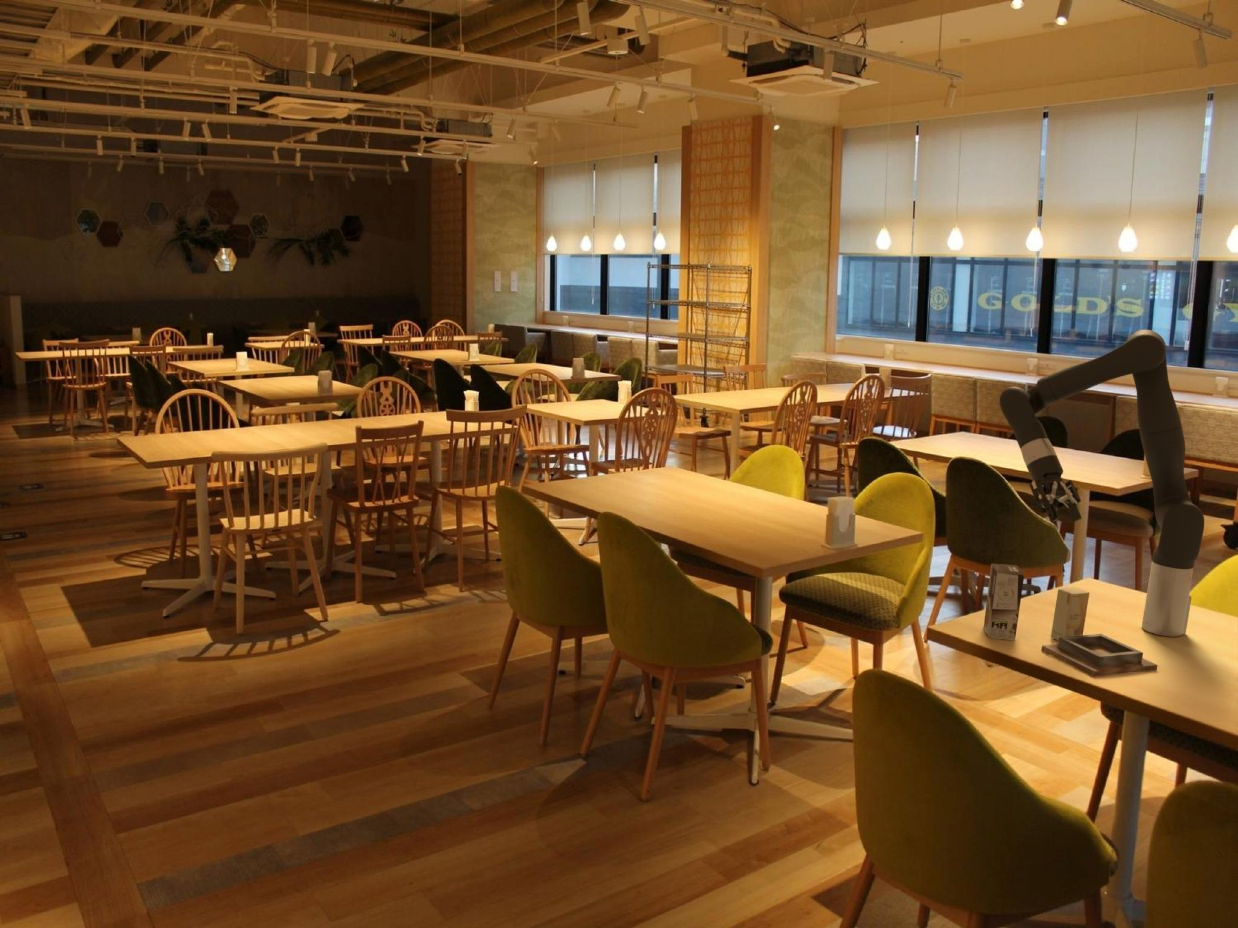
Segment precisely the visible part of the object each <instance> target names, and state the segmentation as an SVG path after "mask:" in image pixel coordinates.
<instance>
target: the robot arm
mask: <svg viewBox="0 0 1238 928" xmlns="http://www.w3.org/2000/svg"><path fill="white" fill-rule="evenodd" d="M1128 375H1132V377H1133V382H1134V385H1135V390H1136V406H1137V407H1136V410H1137V414H1136V415H1137V423H1138V430H1139V435H1140V440H1141V445H1142V449H1143V453H1144V457H1145V460H1146V465H1147V469H1148V471H1149V474H1150V478H1151V483H1152V484H1151V485H1152V490H1153V498H1154V499H1153V500H1154V501H1153V502H1154V513H1155V520H1156V522H1157V524H1158V526H1159V528H1161V531H1160V537H1159V541H1158V545H1157V547H1156V548H1155V549H1154V550H1153V553H1152V559H1151V564H1150V572H1149V579H1148V584H1147V591H1146V597H1145V604H1144V609H1143V615H1142V616H1143V617H1142V620H1141V621H1142V623H1141V628H1142V629H1143V630H1144V631H1146V632H1148V633H1151V634H1155V635H1158V636H1163V637H1172V638H1173V637H1175V638H1176V637H1181V636H1183V635H1184V634H1186V633H1187V628H1188V621H1189V617H1190V616H1189V615H1190V611H1191V606H1192V605H1191V602H1192V596H1191V595H1190V593H1191V586H1192V580H1193V573H1194V567H1195V562H1196V560H1197V559H1198V557H1199V554H1200V549H1201V545H1202V541H1203V536H1204V530H1205V516H1204V513H1203V512H1202V510H1201V509H1200V508H1199V507H1198V506H1197V505H1196V504H1194V503H1193V502H1192V500H1191V497H1190V495H1189V491H1188V490H1189V489H1188V488H1187V483H1186V479H1185V461H1186V441H1185V436H1184V435H1185V434H1184V431H1183V426H1182V422H1181V418H1180V415H1179V411H1178V407H1177V404H1176V401H1175V398H1174V394H1173V392H1172V389H1171V385H1170V380H1169V374H1168V366H1167V344H1166V341H1165V340H1164V338H1163V336H1161V335H1160V334H1159V333H1158V332H1156V331H1154V330H1150V329H1141V330H1140V329H1139V330H1137V331H1135V332H1134V333H1132V334H1131V335H1130V336H1129V337H1127V339H1126V340H1125V342H1124V343H1123V344H1120V345H1119V346H1117V347H1116V348H1113V350H1111V351H1109V352H1107V353H1105V354H1102V355H1101V356H1097V357H1095V358H1093V359H1090V360H1086V361H1083V362H1080V363H1077V364H1073V365H1070V366H1068V367H1064V368H1062V369H1059V370H1058V371H1055V372H1052V373H1050V374H1048V375H1045V376H1043V377H1041V378H1039V379H1038V380H1037V382H1036V385H1033V386H1031V387H1030V388H1027V389H1026V390H1025V389H1023V388H1022V387H1019V386H1010V387H1007V388H1005V389H1004V390H1003V391H1002V392H1001V394H1000V395H999V398H998V399H999V401H998V402H999V408H1000V409H1001V413H1002V414H1003V415H1004V418H1005V420H1006V421H1007V423H1008V425H1009V426H1010V428H1011V429H1012V431H1013V434H1014V437H1015V439H1016V442H1017V444H1018V447H1019V449H1020V452H1021V455H1022V459H1023V461H1024V464H1025V466H1026V468H1027V471H1028V474H1029V477H1030V479H1031V481H1032V482H1030V483H1029V487H1030V490H1031V493H1032V495H1033V496H1032V497H1033V498H1034V501H1035V503H1036V506H1041V507H1042V508H1044V509H1045V511H1046V515H1047V517H1048V518H1049V521H1050V522H1052V523H1053V522H1054V523H1055V522H1056V521H1058V520H1059V519H1060V515H1059V513H1058V510H1057V508H1056V505H1055V504H1054V500H1057V501H1058V502H1059V503H1062V504H1063V505H1064V506H1065V507H1066V508H1067V512H1068V514H1069V516H1070V518H1071V521H1072V522H1074V523H1075V522H1078V521H1080V520H1082V515H1081V513H1080V510H1079V508H1078V506H1077V505H1078V504H1079V503H1081V502H1082V500H1081V497H1080V495H1079V493H1078V491H1077V489H1076V487H1075V484H1074V482H1073V481H1072V480H1070V479H1069V480H1067V481H1064V480H1063V478H1062V475H1063V473H1064V470H1063V467H1062V465H1061V462H1060V459H1059V458H1058V455H1057V452H1056V451H1055V448H1054V445H1052V443H1051V441H1050V439H1049V437H1048V435H1047V433H1046V430H1045V427H1044V426H1043V424H1042V422H1041V421H1040V420H1039V419H1038V418H1037V417H1036V414H1037V413H1039V412H1041V411H1043V410H1044V409H1046V408H1048V407H1049V406H1050V405H1052V404H1055V403H1059V402H1060V401H1063V400H1065V399H1068V398H1070V397H1073V396H1075V395H1078V394H1080V393H1082V392H1084V391H1087V390H1088V389H1091V388H1093V387H1095V386H1098V385H1100V384H1103V383H1106V382H1109V381H1112V380H1115V379H1117V378H1121V377H1125V376H1128ZM1073 496H1074V497H1073Z"/></svg>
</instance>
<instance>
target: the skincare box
mask: <svg viewBox="0 0 1238 928" xmlns="http://www.w3.org/2000/svg"><path fill="white" fill-rule="evenodd" d="M1089 599H1090V591H1086V590H1083V589H1081V588H1079V587H1075V586H1074V587H1065V588H1058V590H1057V595H1056V602H1055V609H1054V613H1053V620H1052V626H1051V633H1050V638H1051V639H1054V640H1056V641H1058V640H1059V637H1069V636H1081V635H1084V629H1085V623H1086V617H1087V609H1088V605H1089Z"/></svg>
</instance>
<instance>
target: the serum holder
mask: <svg viewBox="0 0 1238 928" xmlns="http://www.w3.org/2000/svg"><path fill="white" fill-rule="evenodd" d="M1041 651H1042V652H1043V653H1046V654H1048V655H1050V656H1052V657H1054V658H1056V659H1058V660H1060V661H1062V662H1064V663H1066V664H1067V665H1070V666H1072V667H1074V668H1075V669H1077V670H1080V671H1082V672H1084V673H1086V674H1088V675H1089V676H1091V677H1094V678H1095V677H1104V676H1114V675H1121V674H1131V673H1132V674H1134V673H1141V672H1152V671H1157V670H1158V666H1159V664H1156V663H1154V662H1152V661H1150V660H1148V659H1145V658H1143V655H1144V652H1142V651H1141V650H1138V649H1136V648H1134V647H1131V646H1129V645H1127V644H1125V643H1123V642H1120V641H1118V640H1116V639H1113V638H1112V637H1109V636H1107V635H1104V634H1103V633H1094V634H1085V635H1084V634H1083V635H1081V636H1069V637H1059V640H1057V643H1056V644H1053V643H1052V644H1046V645H1045V644H1044V645H1042V644H1041Z"/></svg>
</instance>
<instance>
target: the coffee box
mask: <svg viewBox="0 0 1238 928" xmlns="http://www.w3.org/2000/svg"><path fill="white" fill-rule="evenodd" d="M1024 579H1025V574H1024V572H1023V571H1022V570H1021V568H1020V567H1019V566H1018V565H1013V564H1005V563H1001V564H1000V563H999V564H998V563H991V565H990V572H989V580H988V587H987V588H988V589H987V596H986V598H987V599H986V606H985V614H984V622H983V627H984V630H985V633H986V634H987V637H988V638H990V639H991V638H992V639H999V640H1006V641H1013V642H1014V641H1016V636H1017V628H1018V623H1019V617H1020V616H1019V615H1020V609H1021V607H1020V606H1021V600H1022V593H1023V587H1024Z"/></svg>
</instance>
